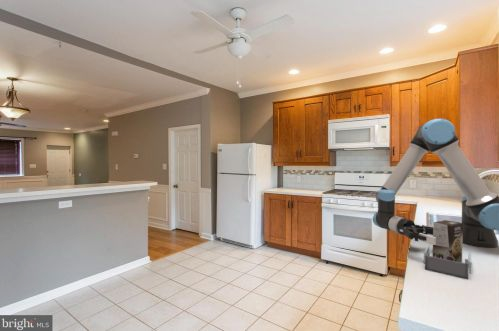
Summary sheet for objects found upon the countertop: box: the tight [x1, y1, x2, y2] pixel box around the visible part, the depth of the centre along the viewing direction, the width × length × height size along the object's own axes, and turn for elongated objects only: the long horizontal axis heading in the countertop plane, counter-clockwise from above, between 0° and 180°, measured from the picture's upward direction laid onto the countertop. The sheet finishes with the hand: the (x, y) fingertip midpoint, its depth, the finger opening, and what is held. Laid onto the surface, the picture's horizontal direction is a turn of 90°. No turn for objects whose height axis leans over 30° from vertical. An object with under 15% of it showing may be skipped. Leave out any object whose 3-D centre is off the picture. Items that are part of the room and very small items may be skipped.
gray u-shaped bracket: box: [423, 243, 472, 280], centre depth 98 cm, size 20×14×5 cm
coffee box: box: [431, 219, 463, 263], centre depth 100 cm, size 9×6×16 cm
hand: (449, 239), depth 99 cm, fingers open, 13 cm apart
